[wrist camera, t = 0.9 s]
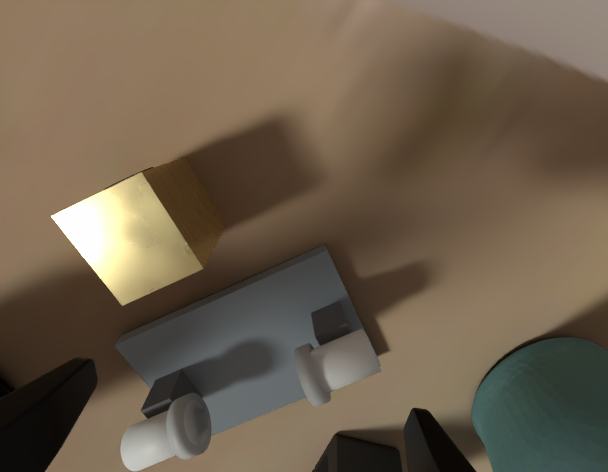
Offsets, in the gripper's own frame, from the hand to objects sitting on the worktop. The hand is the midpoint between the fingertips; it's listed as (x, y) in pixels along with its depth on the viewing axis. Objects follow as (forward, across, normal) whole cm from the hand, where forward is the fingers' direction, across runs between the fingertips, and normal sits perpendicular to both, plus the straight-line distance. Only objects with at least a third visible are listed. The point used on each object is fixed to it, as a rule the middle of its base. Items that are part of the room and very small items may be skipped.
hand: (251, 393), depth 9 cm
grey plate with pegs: (+11, +2, +9) cm, 14 cm away
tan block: (+11, +7, -1) cm, 13 cm away
